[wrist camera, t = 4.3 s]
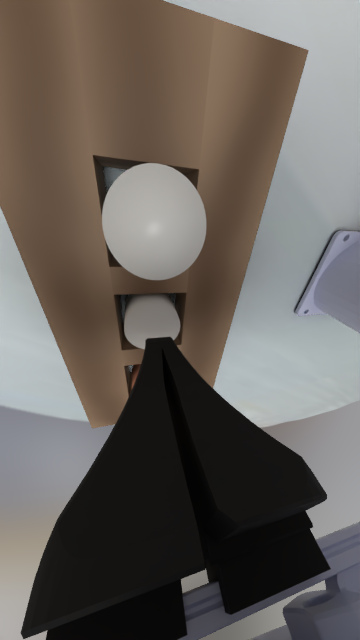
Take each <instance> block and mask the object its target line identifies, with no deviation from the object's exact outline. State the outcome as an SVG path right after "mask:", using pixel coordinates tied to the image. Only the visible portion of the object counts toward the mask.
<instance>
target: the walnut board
mask: <svg viewBox="0 0 360 640" xmlns="http://www.w3.org/2000/svg"><path fill="white" fill-rule="evenodd" d="M307 54H308V50H306V49H303V48H300V47H297V46H294V45H291V44H289V43H286V42H283V41H280V40H277V39H274V38H271V37H268V36H265V35H262V34H259V33H256V32H253V31H251V30H248V29H245V28H242V27H239V26H236V25H233V24H230V23H227V22H224V21H221V20H218V19H215V18H212V17H210V16H207V15H204V14H201V13H198V12H195V11H192V10H189V9H186V8H183V7H180V6H177V5H174V4H171V3H169V2H166V1H163V0H0V206H1V209H2V211H3V214H4V216H5V218H6V221H7V223H8V226H9V228H10V231H11V233H12V235H13V238H14V240H15V243H16V245H17V248H18V250H19V252H20V255H21V257H22V260H23V262H24V265H25V267H26V269H27V272H28V274H29V277H30V279H31V281H32V284H33V286H34V289H35V291H36V294H37V296H38V298H39V301H40V303H41V306H42V308H43V311H44V313H45V315H46V318H47V320H48V323H49V325H50V328H51V330H52V332H53V335H54V337H55V340H56V342H57V345H58V347H59V349H60V352H61V354H62V357H63V359H64V361H65V364H66V366H67V369H68V371H69V374H70V376H71V378H72V381H73V383H74V386H75V388H76V391H77V393H78V395H79V398H80V400H81V403H82V405H83V408H84V410H85V412H86V415H87V417H88V420H89V422H90V424H91V427H92V428H97V427H102V426H108V425H113V424H116V422H117V420H118V418H119V416H120V414H121V412H122V410H123V408H124V406H125V404H126V402H127V400H128V398H129V395H130V393H131V391H132V373H129V365H136V364H141V363H142V359H143V355H144V351H145V349H141V348H138V347H136V346H134V345H133V344H131V343H130V342H129V341H128V340H127V338H126V336H125V333H124V326H123V319H122V311H121V303H120V296H119V294H152V293H176V299H175V310H176V312H177V315H178V317H179V320H180V331H179V333H178V335H177V337H176V338H175V339H174V342H175V344H176V345H177V347H178V348H179V350H180V351H181V352H182V354H183V355H184V356H185V358H186V359H187V360H188V361H189V363H190V364H191V365H192V366H193V368H194V369H195V370H196V371H197V372H198V373H199V375H200V376H201V377H202V378H203V379H204V380H205V381H206V382H207V383H208V384H209V385H210V386H211V387H212V388H213V386H214V383H215V379H216V375H217V372H218V368H219V365H220V361H221V358H222V354H223V351H224V347H225V344H226V340H227V337H228V333H229V330H230V326H231V322H232V319H233V315H234V312H235V308H236V305H237V301H238V298H239V294H240V291H241V287H242V284H243V280H244V277H245V273H246V269H247V266H248V262H249V259H250V255H251V252H252V248H253V245H254V241H255V238H256V234H257V231H258V227H259V224H260V220H261V216H262V213H263V209H264V206H265V202H266V199H267V195H268V192H269V188H270V185H271V181H272V178H273V174H274V171H275V167H276V163H277V160H278V156H279V153H280V149H281V146H282V142H283V139H284V135H285V132H286V128H287V125H288V121H289V118H290V114H291V110H292V107H293V103H294V100H295V96H296V93H297V89H298V86H299V82H300V79H301V75H302V72H303V68H304V65H305V61H306V57H307ZM146 163H158V164H163V165H166V166H169V167H171V168H174V169H175V170H177V171H179V172H180V173H182V174H183V175H184V176H185V177H186V178H187V179H188V180H189V181H190V182H191V183H192V184H193V186H194V187H195V188H196V190H197V192H198V193H199V195H200V197H201V200H202V202H203V205H204V209H205V214H206V236H205V241H204V244H203V247H202V249H201V251H200V253H199V255H198V257H197V259H196V260H195V261H194V263H193V264H192V265H191V266H190V267H189V268H188V269H187V270H185V271H184V272H182V273H181V274H179V275H177V276H175V277H173V278H170V279H165V280H149V279H144V278H141V277H138V276H136V275H134V274H132V273H131V272H129V271H128V270H126V269H125V268H124V267H123V266H122V265H121V264H120V263H119V262H118V261H117V260H116V259H115V257H114V256H113V254H112V253H111V251H110V249H109V247H108V245H107V243H106V240H105V237H104V232H103V227H102V210H103V204H104V201H105V198H106V187H105V180H104V172H103V167H111V168H119V169H127V170H128V169H130V168H132V167H134V166H137V165H140V164H146Z"/></svg>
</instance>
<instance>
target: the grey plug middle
mask: <svg viewBox="0 0 360 640" xmlns="http://www.w3.org/2000/svg"><path fill="white" fill-rule="evenodd" d="M179 331H180V320H179V317H178V315H177V312H176V310H175V307H174V304H173V302H172V299H171V297H170V295H169V294H168V293H152V294H129V295H128V297H127V299H126V304H125V320H124V333H125V336H126V338H127V340H128V341H129V342H130V343H131V344H133V345H134V346H136V347H138V348H141V349H145V340H146V339H147V338H159V337H171V338H172V339H173V340H174V339H175V338H176V337H177V335H178V333H179Z"/></svg>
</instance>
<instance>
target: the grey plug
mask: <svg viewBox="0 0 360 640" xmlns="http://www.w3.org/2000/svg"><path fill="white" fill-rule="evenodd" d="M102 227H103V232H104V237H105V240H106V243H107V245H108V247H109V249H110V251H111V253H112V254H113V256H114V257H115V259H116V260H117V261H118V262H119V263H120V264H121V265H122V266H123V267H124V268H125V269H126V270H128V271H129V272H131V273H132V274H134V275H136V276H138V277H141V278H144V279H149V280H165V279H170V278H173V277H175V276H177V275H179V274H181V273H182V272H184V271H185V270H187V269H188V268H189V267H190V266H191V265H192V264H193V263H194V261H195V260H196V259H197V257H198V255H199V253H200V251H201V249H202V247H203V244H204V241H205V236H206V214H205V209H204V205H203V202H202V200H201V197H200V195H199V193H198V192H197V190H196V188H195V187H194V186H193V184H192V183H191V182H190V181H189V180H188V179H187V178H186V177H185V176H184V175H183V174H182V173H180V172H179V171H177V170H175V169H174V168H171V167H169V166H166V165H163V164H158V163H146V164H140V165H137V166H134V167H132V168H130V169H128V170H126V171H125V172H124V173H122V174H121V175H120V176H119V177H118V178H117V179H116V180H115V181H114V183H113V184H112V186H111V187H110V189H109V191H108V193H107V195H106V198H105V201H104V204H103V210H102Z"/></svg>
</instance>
